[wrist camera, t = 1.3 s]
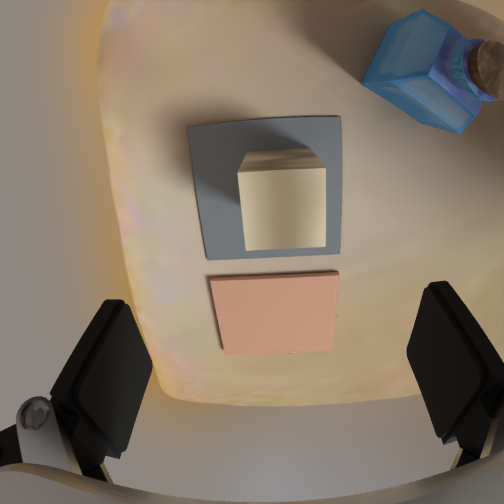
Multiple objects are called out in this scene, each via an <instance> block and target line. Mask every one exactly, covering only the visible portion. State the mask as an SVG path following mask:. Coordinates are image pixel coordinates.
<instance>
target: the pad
mask: <svg viewBox="0 0 504 504" xmlns="http://www.w3.org/2000/svg"><path fill="white" fill-rule="evenodd" d="M339 276H340V275H339V272H325V273H306V274H286V275H265V276H240V277H213V278H211V280H210V283H211V288H212V293H213V298H214V304H215V309H216V314H217V319H218V323H219V328H220V333H221V338H222V343H223V347H224V352H225V354H278V353H301V352H317V351H331V350H332V348H333V340H334V331H335V322H336V312H337V301H338V289H339Z"/></svg>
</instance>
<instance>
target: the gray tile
mask: <svg viewBox="0 0 504 504" xmlns="http://www.w3.org/2000/svg"><path fill="white" fill-rule="evenodd" d="M187 131H188V139H189V146H190V153H191V160H192V167H193V174H194V181H195V188H196V194H197V201H198V207H199V213H200V219H201V225H202V231H203V237H204V243H205V249H206V254H207V260H227V259H249V258H270V257H291V256H311V255H331V254H340V244H341V218H342V130H341V117H294V118H273V119H258V120H246V121H235V122H225V123H216V124H208V125H200V126H192V127H187ZM307 148H311V149H312V151H313V152H314V153H315V154H316V156H317V157H318V158H319V160H320V161H321V162H322V164H323V165H324V166H325V168H326V247H311V248H291V249H270V250H250V251H246V248H245V238H244V229H243V220H242V211H241V201H240V192H239V183H238V170H239V168H240V166H241V164H242V161H243V159H244V157H245V155H246V152H251V151H265V150H283V149H307Z"/></svg>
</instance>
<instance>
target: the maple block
mask: <svg viewBox="0 0 504 504" xmlns="http://www.w3.org/2000/svg"><path fill="white" fill-rule="evenodd" d="M238 183H239V192H240V201H241V211H242V220H243V229H244V238H245V248H246V251H250V250H270V249H291V248H311V247H326V168H325V166H324V165H323V164H322V162H321V161H320V160H319V158H318V157H317V156H316V154H315V153H314V152H313V151H312V149H311V148H307V149H283V150H265V151H251V152H246V155H245V157H244V159H243V161H242V164H241V166H240V168H239V170H238Z"/></svg>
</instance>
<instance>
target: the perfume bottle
mask: <svg viewBox="0 0 504 504" xmlns="http://www.w3.org/2000/svg"><path fill="white" fill-rule="evenodd" d="M361 84H362V85H363V86H365V87H367V88H368V89H370V90H372V91H373V92H375V93H377V94H378V95H380V96H382V97H383V98H385V99H386V100H388V101H389V102H391V103H393V104H394V105H396V106H397V107H399V108H400V109H402V110H403V111H405V112H406V113H408V114H409V115H410V116H412V117H413V118H415V119H416V120H417V121H419V122H420V123H422V124H426V125H429V126H433V127H437V128H440V129H444V130H447V131H450V132H454V133H457V134H461V133H462V132H463V131H464V130H465V129H466V128H467V127H468V126H469V124H470V123H471V122H472V121H473V120H474V119H475V118H476V117H477V114H478V112H479V110H480V108H481V105H482V103H483V101H489V102H492V101H497V100H502V101H504V45H503V44H502V43H500V42H498V41H495V40H488V41H484V40H481V39H473V40H468V39H467V38H466V37H464V36H463V35H462V34H461V33H460V32H459V31H457V30H456V29H455V28H454V27H452V26H451V25H450V24H448V23H447V22H445V21H443V20H441V19H440V18H438V17H436V16H434V15H433V14H431V13H429V12H427V11H425V10H423V9H421V10H419V11H417V12H415V13H413V14H411V15H409V16H407V17H405V18H403V19H401V20H399V21H397V22H395V23H393V24H391V25H389V27H388V29H387V32H386V34H385V36H384V38H383V40H382V42H381V44H380V46H379V48H378V50H377V52H376V54H375V56H374V58H373V60H372V62H371V64H370V66H369V68H368V70H367V72H366V74H365V76H364V78H363V80H362V82H361Z"/></svg>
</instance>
